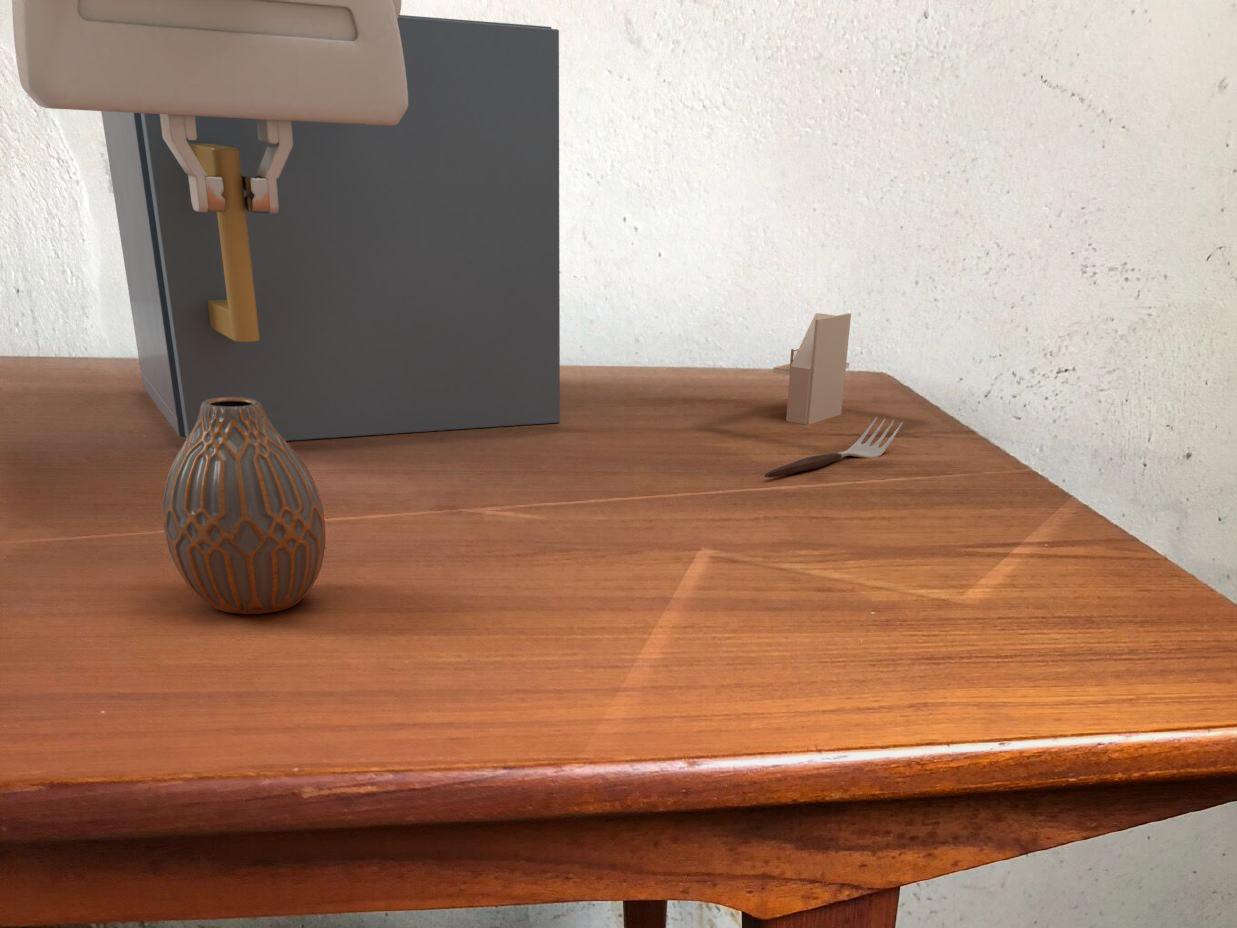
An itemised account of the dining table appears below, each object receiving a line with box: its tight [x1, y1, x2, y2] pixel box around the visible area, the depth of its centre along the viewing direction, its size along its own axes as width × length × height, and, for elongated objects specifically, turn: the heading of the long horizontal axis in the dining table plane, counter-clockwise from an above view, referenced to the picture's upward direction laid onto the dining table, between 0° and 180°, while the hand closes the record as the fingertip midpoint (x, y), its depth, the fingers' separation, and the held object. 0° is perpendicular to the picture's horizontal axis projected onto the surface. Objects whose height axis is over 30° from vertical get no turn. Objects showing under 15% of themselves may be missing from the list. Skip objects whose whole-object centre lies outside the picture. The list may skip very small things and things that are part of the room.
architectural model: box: [772, 312, 852, 425], centre depth 105 cm, size 3×7×7 cm, turn 148°
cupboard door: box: [141, 16, 561, 442], centre depth 86 cm, size 7×26×24 cm, turn 121°
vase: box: [162, 397, 326, 615], centre depth 61 cm, size 7×7×9 cm
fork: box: [764, 416, 904, 478], centre depth 93 cm, size 3×16×2 cm, turn 144°
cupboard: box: [100, 14, 552, 438], centre depth 96 cm, size 18×26×24 cm
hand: (236, 212), depth 78 cm, fingers closed on cupboard door, 2 cm apart
